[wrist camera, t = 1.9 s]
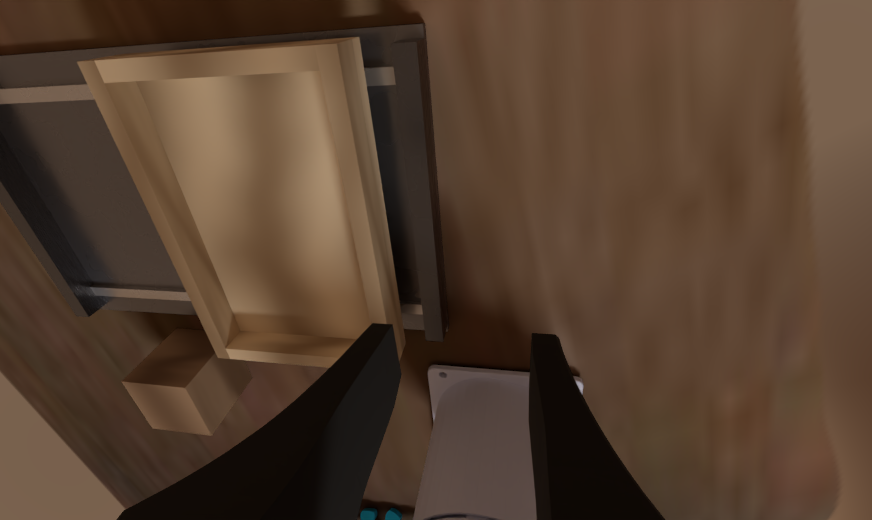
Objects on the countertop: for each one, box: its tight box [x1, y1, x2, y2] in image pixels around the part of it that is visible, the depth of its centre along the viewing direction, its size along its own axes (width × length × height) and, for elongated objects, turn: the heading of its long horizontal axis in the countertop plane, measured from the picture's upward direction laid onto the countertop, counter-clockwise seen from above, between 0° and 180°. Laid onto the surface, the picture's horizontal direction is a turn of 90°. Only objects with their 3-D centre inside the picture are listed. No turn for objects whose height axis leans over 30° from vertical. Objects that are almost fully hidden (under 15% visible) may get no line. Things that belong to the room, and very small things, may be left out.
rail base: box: [0, 23, 449, 342], centre depth 23 cm, size 25×16×2 cm, turn 95°
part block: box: [121, 328, 252, 436], centre depth 29 cm, size 4×4×5 cm
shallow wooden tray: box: [77, 37, 406, 368], centre depth 21 cm, size 11×16×3 cm
